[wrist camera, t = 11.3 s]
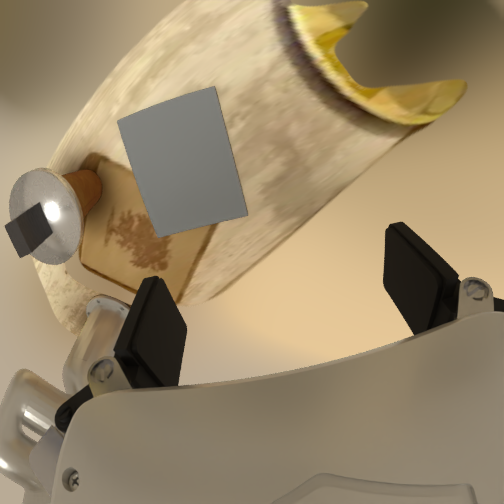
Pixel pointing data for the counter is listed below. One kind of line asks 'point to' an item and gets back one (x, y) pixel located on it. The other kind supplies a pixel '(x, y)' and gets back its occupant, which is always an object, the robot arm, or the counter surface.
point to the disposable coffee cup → (85, 188)
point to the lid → (45, 217)
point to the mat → (183, 163)
